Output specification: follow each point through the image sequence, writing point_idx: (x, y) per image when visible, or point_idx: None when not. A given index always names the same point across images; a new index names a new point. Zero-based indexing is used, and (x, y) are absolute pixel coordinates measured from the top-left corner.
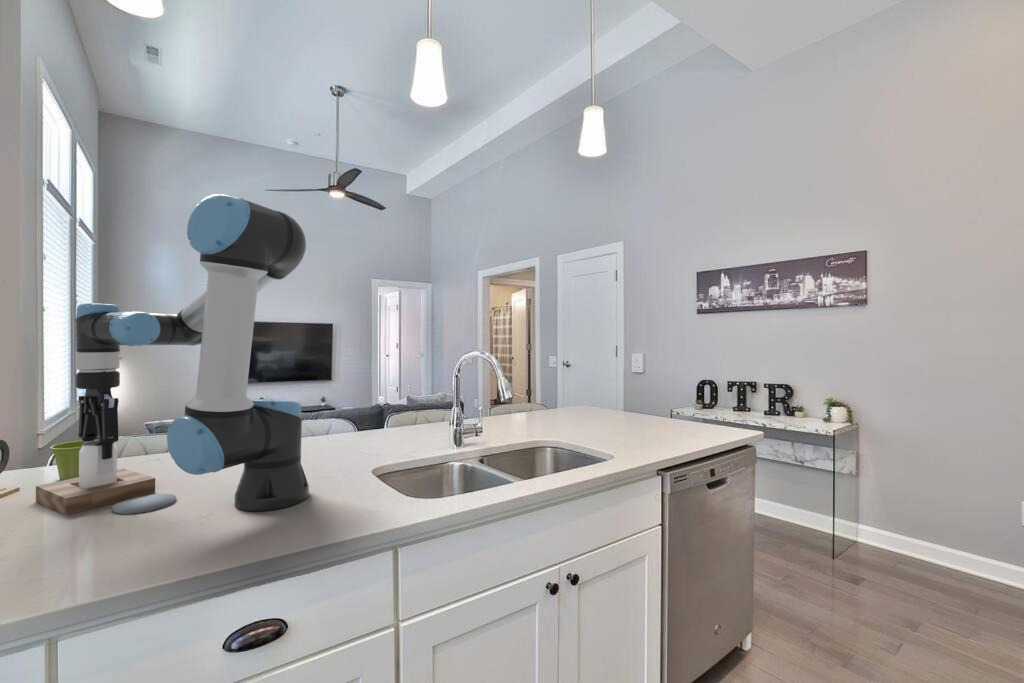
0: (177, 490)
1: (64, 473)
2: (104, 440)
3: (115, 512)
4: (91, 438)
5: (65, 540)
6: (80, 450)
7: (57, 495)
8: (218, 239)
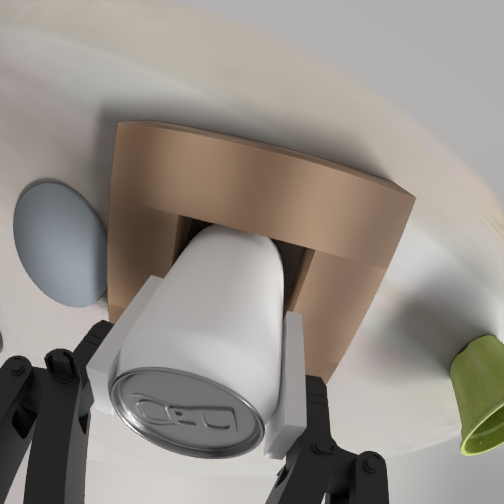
0: None
1: (487, 346)
2: (8, 365)
3: (53, 183)
4: (291, 458)
5: (9, 57)
6: (215, 346)
7: (192, 133)
8: None
